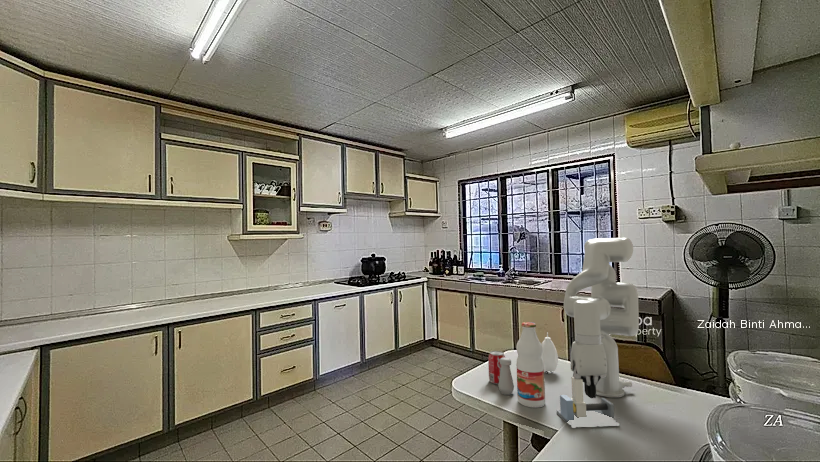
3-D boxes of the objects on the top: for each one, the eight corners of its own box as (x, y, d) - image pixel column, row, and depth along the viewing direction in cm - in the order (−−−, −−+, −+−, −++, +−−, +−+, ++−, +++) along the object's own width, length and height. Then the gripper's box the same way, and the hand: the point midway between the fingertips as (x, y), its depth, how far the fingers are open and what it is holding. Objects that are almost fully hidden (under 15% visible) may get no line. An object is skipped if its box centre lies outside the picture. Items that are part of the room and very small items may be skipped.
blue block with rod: (600, 411, 117) (599, 390, 118) (619, 426, 107) (618, 402, 108) (556, 413, 116) (555, 391, 117) (572, 428, 106) (571, 404, 107)
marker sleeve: (579, 411, 114) (578, 375, 115) (586, 417, 110) (585, 380, 110) (570, 411, 114) (569, 376, 114) (577, 417, 110) (575, 380, 110)
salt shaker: (496, 390, 136) (495, 356, 137) (510, 389, 137) (509, 355, 138) (501, 396, 130) (500, 360, 131) (516, 395, 131) (515, 360, 132)
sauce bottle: (541, 375, 152) (540, 333, 153) (538, 369, 160) (536, 329, 161) (560, 376, 151) (558, 333, 152) (556, 370, 158) (554, 329, 159)
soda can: (508, 381, 146) (507, 351, 146) (503, 386, 140) (502, 356, 140) (492, 378, 149) (491, 349, 150) (486, 383, 143) (485, 353, 144)
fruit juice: (550, 402, 125) (547, 323, 126) (537, 410, 118) (534, 327, 120) (525, 394, 131) (523, 319, 133) (512, 402, 125) (510, 323, 127)
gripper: (602, 334, 118) (604, 390, 117) (559, 337, 116) (562, 393, 115) (617, 340, 110) (620, 399, 109) (572, 343, 109) (575, 403, 108)
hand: (590, 396), depth 112 cm, fingers closed
